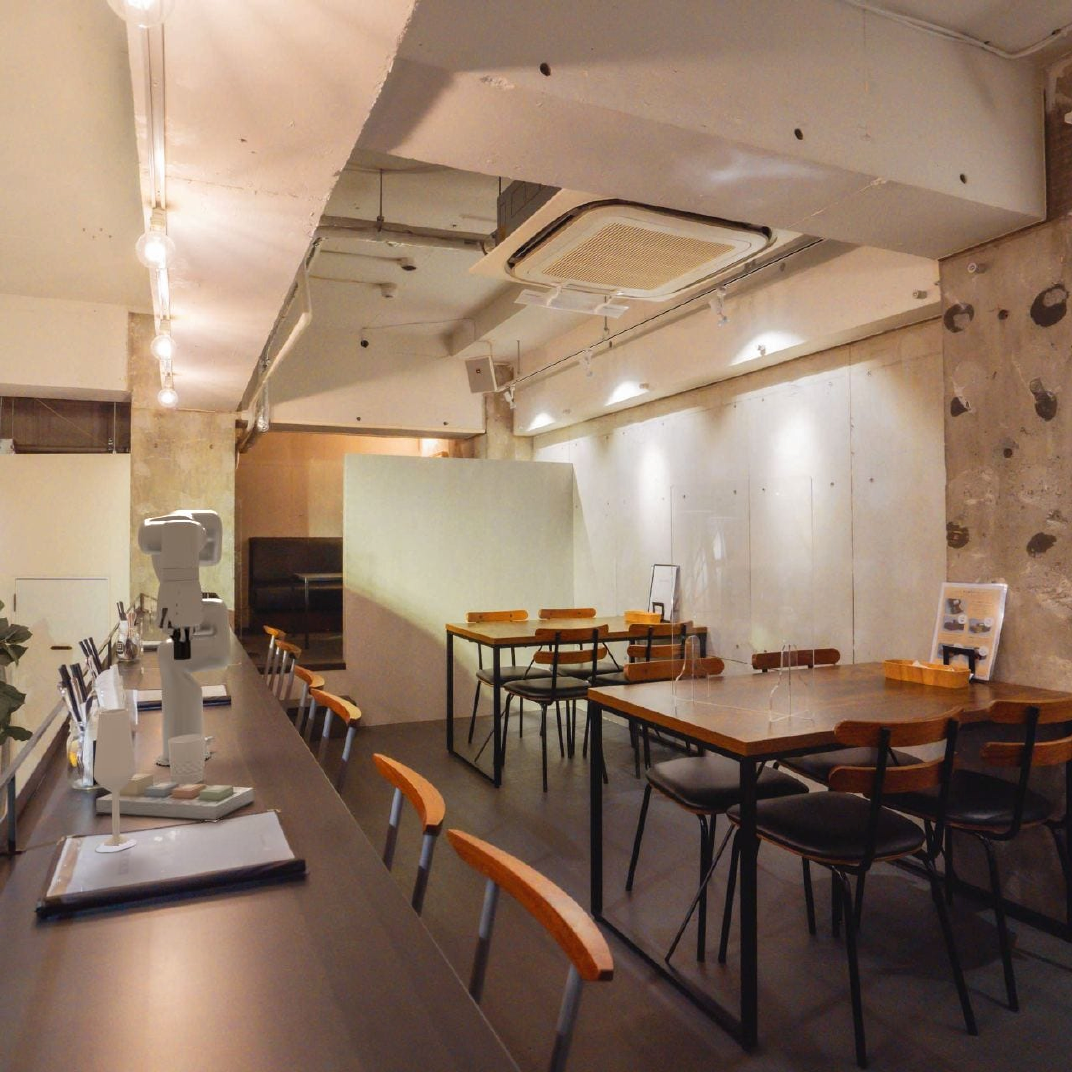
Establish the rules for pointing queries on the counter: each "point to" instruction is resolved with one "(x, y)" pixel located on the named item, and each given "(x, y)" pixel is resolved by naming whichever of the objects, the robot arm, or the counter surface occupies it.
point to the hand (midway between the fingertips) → (182, 659)
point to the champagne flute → (114, 762)
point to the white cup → (187, 758)
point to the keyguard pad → (177, 806)
